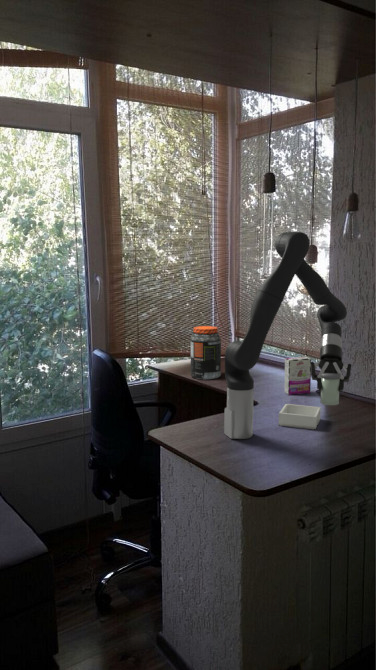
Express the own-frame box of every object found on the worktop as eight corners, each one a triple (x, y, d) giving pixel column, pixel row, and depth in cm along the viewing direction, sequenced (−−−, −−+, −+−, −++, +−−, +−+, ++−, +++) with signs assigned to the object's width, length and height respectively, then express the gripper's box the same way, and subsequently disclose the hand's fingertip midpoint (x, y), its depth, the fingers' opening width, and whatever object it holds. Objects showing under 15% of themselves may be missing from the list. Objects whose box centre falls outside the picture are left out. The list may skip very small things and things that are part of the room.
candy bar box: (305, 391, 256) (306, 356, 253) (310, 393, 251) (311, 358, 249) (283, 392, 253) (284, 357, 250) (288, 395, 248) (289, 359, 246)
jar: (327, 406, 182) (328, 376, 181) (316, 401, 188) (317, 372, 187) (343, 404, 185) (344, 375, 183) (331, 399, 190) (332, 371, 189)
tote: (315, 429, 200) (316, 416, 199) (278, 425, 204) (278, 413, 204) (320, 419, 212) (320, 407, 212) (285, 415, 217) (285, 403, 216)
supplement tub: (221, 373, 291) (222, 325, 288) (220, 380, 276) (220, 329, 272) (191, 373, 293) (192, 325, 289) (188, 379, 278) (188, 329, 274)
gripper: (310, 342, 192) (308, 383, 183) (353, 344, 189) (353, 385, 179) (309, 354, 198) (308, 394, 189) (351, 356, 195) (351, 397, 185)
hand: (330, 390), depth 184 cm, fingers closed on jar, 6 cm apart
